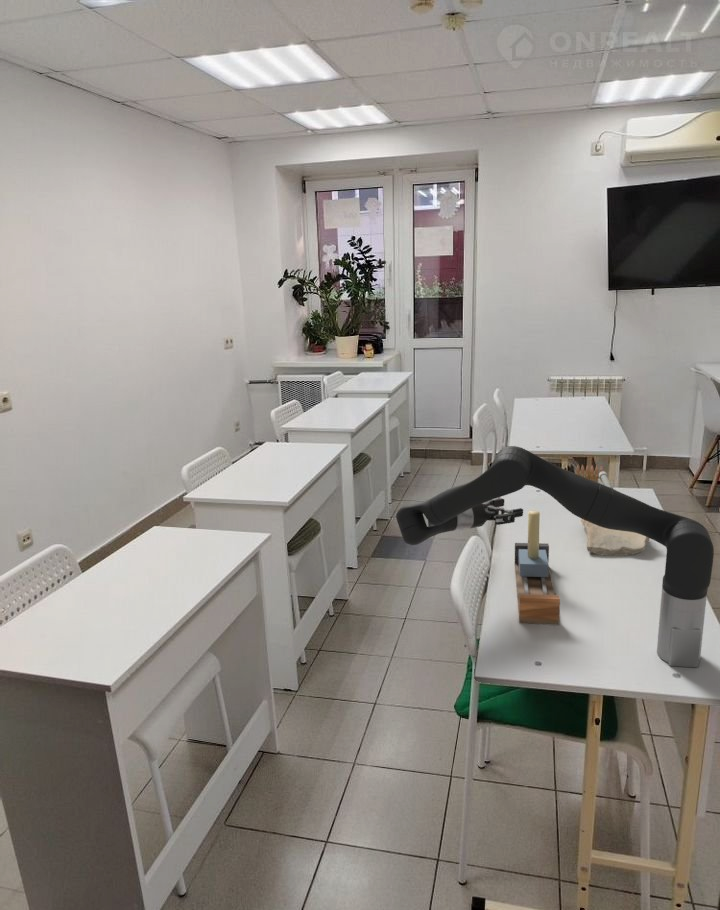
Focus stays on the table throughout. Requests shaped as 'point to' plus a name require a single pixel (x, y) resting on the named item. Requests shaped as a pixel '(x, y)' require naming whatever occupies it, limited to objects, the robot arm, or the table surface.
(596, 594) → the table surface
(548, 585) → the rail
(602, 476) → the geiger counter
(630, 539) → the beige bone fragment
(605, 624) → the table surface
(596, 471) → the ammunition clip
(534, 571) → the carriage
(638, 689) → the table surface
